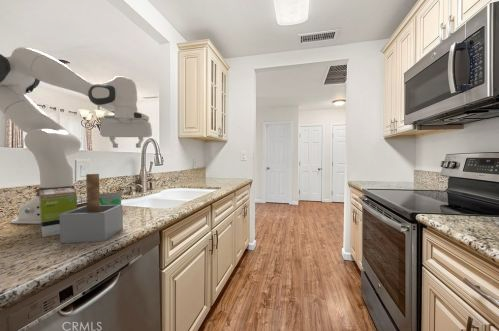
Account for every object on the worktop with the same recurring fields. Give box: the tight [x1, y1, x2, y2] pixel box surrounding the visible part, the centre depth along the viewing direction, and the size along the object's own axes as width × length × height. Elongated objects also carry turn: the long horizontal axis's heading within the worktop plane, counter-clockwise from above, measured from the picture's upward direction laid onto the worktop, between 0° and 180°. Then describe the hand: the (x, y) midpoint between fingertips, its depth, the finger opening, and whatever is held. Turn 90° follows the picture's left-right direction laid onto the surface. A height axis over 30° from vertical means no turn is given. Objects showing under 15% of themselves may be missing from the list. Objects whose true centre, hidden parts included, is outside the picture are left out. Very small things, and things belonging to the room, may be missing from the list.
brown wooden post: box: [85, 173, 101, 213], centre depth 76 cm, size 8×5×20 cm, turn 97°
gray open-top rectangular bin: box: [59, 204, 124, 244], centre depth 77 cm, size 13×13×9 cm
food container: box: [100, 190, 124, 205], centre depth 110 cm, size 12×6×10 cm, turn 168°
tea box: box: [39, 188, 78, 238], centre depth 83 cm, size 15×10×15 cm, turn 45°
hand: (126, 147), depth 97 cm, fingers open, 8 cm apart
